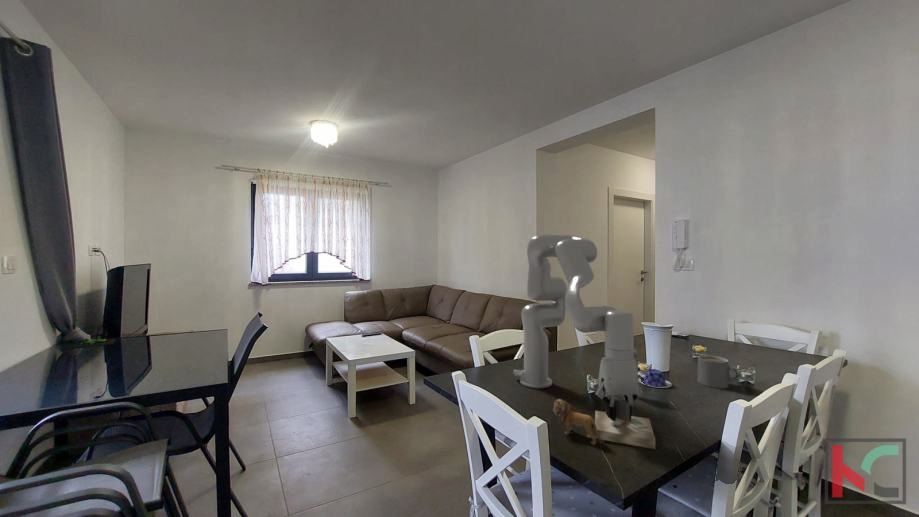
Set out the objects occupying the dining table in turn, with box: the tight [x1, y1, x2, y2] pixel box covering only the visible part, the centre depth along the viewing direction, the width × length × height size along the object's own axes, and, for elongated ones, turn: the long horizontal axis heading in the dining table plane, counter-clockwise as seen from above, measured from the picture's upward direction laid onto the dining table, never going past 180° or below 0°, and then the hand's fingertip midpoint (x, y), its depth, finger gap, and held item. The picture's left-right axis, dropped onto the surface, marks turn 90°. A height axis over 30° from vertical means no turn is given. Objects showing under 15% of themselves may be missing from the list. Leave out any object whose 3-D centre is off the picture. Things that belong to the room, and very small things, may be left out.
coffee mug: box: [697, 354, 741, 389], centre depth 141 cm, size 13×10×10 cm
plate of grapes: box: [638, 368, 673, 389], centre depth 143 cm, size 12×12×5 cm
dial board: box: [594, 410, 656, 450], centre depth 104 cm, size 15×13×3 cm
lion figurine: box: [552, 398, 606, 446], centre depth 102 cm, size 15×5×9 cm, turn 51°
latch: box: [605, 396, 630, 426], centre depth 105 cm, size 8×6×7 cm
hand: (619, 417), depth 103 cm, fingers closed on latch, 4 cm apart
